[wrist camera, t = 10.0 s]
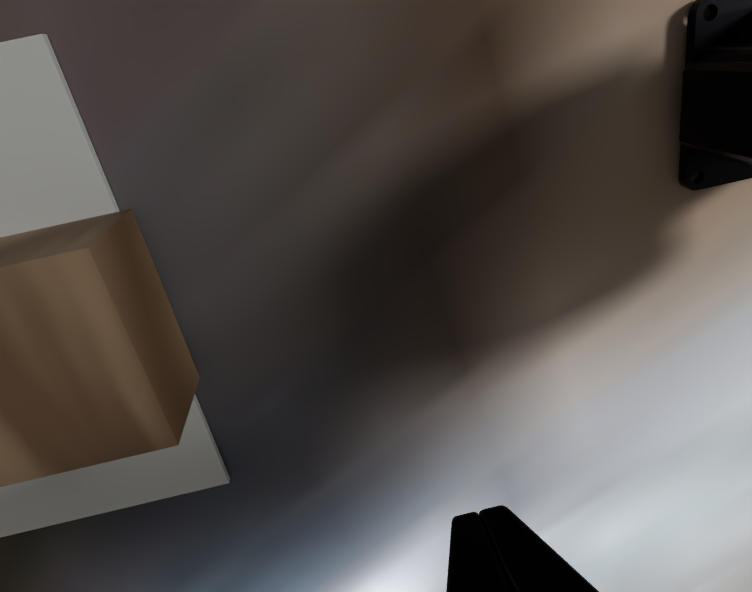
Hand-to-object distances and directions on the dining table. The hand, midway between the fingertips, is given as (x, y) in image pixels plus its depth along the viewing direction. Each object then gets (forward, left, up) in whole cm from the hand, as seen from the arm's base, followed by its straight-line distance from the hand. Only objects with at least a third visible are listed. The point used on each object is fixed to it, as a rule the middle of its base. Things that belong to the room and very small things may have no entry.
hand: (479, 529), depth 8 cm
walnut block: (+8, 0, -11) cm, 13 cm away
